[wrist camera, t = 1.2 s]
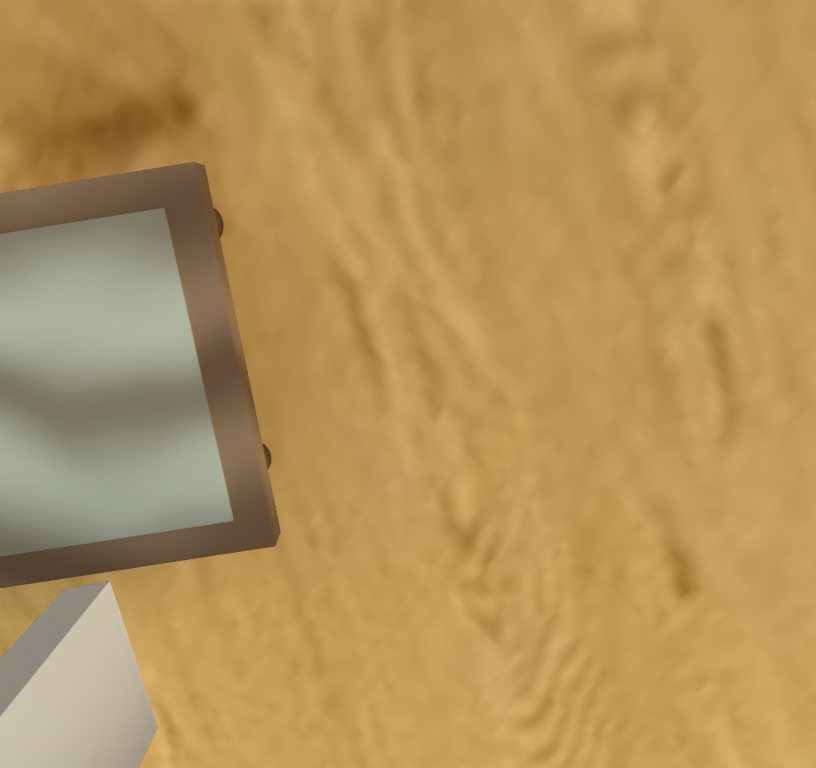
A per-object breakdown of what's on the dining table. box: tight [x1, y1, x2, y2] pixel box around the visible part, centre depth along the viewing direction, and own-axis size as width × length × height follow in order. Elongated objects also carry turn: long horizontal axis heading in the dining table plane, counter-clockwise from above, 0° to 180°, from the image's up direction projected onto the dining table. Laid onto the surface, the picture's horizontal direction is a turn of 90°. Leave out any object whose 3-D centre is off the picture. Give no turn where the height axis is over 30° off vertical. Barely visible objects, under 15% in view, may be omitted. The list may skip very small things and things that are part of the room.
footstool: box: [0, 162, 281, 588], centre depth 32 cm, size 16×16×7 cm
